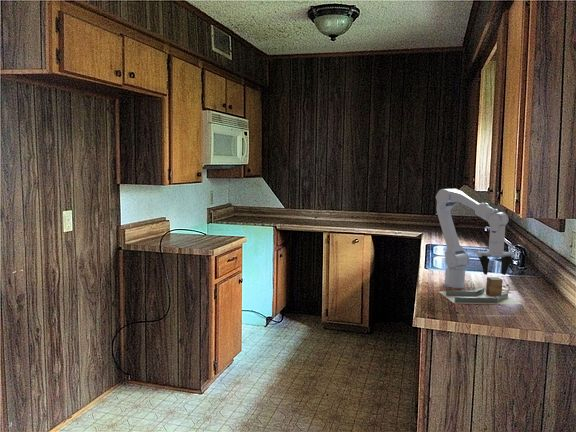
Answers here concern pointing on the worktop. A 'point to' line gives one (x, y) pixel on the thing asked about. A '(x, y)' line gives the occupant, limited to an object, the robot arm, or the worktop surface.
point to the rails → (475, 299)
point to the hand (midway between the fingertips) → (494, 274)
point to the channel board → (505, 301)
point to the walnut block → (494, 286)
